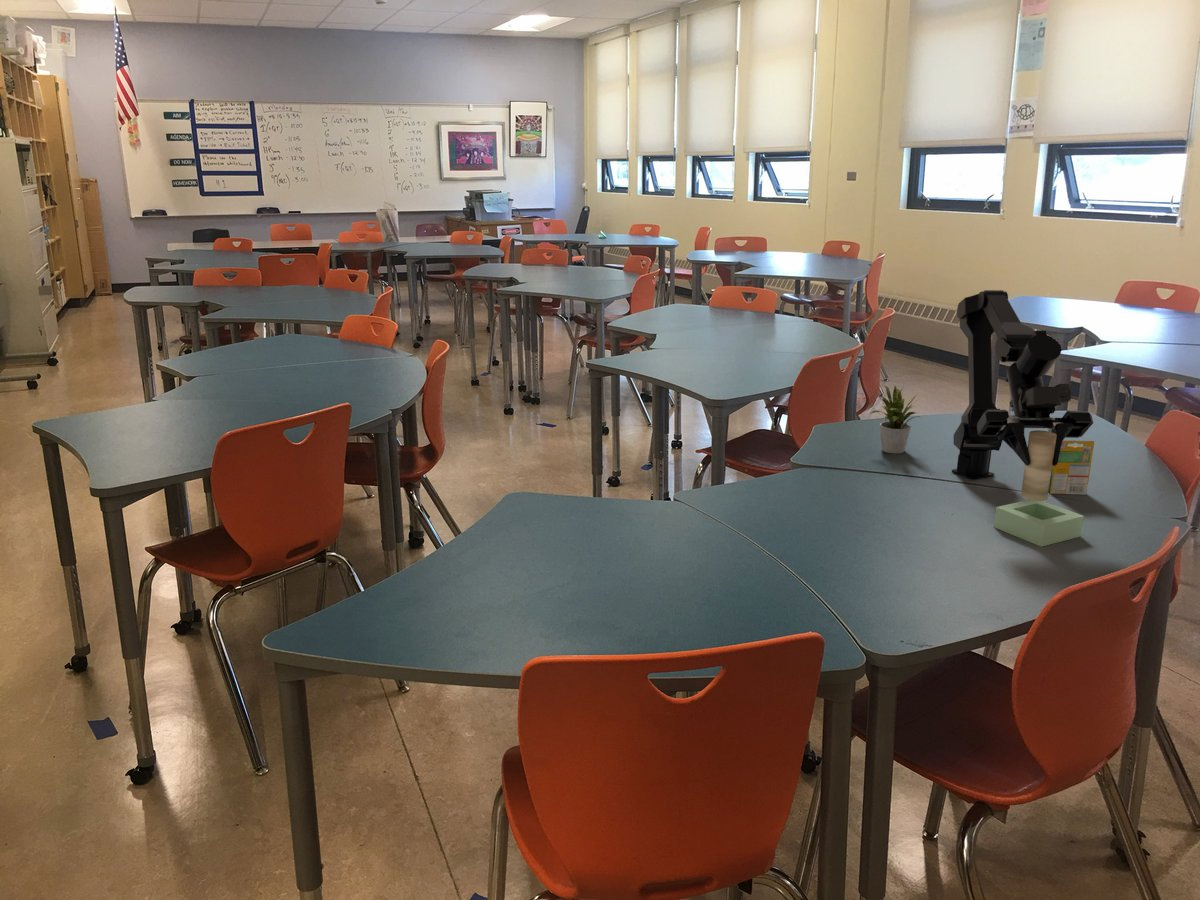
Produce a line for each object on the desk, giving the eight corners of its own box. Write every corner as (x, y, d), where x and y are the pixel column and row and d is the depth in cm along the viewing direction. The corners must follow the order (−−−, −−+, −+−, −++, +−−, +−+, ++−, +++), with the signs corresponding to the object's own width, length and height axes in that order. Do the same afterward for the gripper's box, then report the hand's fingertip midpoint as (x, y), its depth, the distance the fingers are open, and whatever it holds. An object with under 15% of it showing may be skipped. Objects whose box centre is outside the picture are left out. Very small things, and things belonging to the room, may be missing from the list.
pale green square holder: (1032, 517, 174) (1035, 498, 173) (1080, 536, 165) (1084, 516, 164) (993, 527, 170) (996, 507, 168) (1041, 546, 161) (1044, 525, 160)
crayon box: (1081, 490, 189) (1089, 437, 185) (1086, 495, 186) (1095, 441, 182) (1044, 489, 189) (1052, 436, 186) (1049, 494, 187) (1058, 440, 183)
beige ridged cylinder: (1023, 491, 168) (1032, 429, 165) (1049, 495, 166) (1058, 432, 162) (1018, 497, 165) (1027, 434, 161) (1044, 502, 162) (1054, 438, 159)
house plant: (846, 443, 222) (851, 378, 217) (894, 438, 226) (900, 374, 221) (880, 460, 209) (886, 391, 204) (931, 454, 213) (938, 387, 208)
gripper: (989, 366, 163) (1003, 442, 156) (1097, 367, 161) (1115, 444, 154) (970, 398, 173) (982, 471, 166) (1072, 399, 171) (1088, 473, 164)
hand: (1041, 464), depth 162 cm, fingers closed on beige ridged cylinder, 4 cm apart
